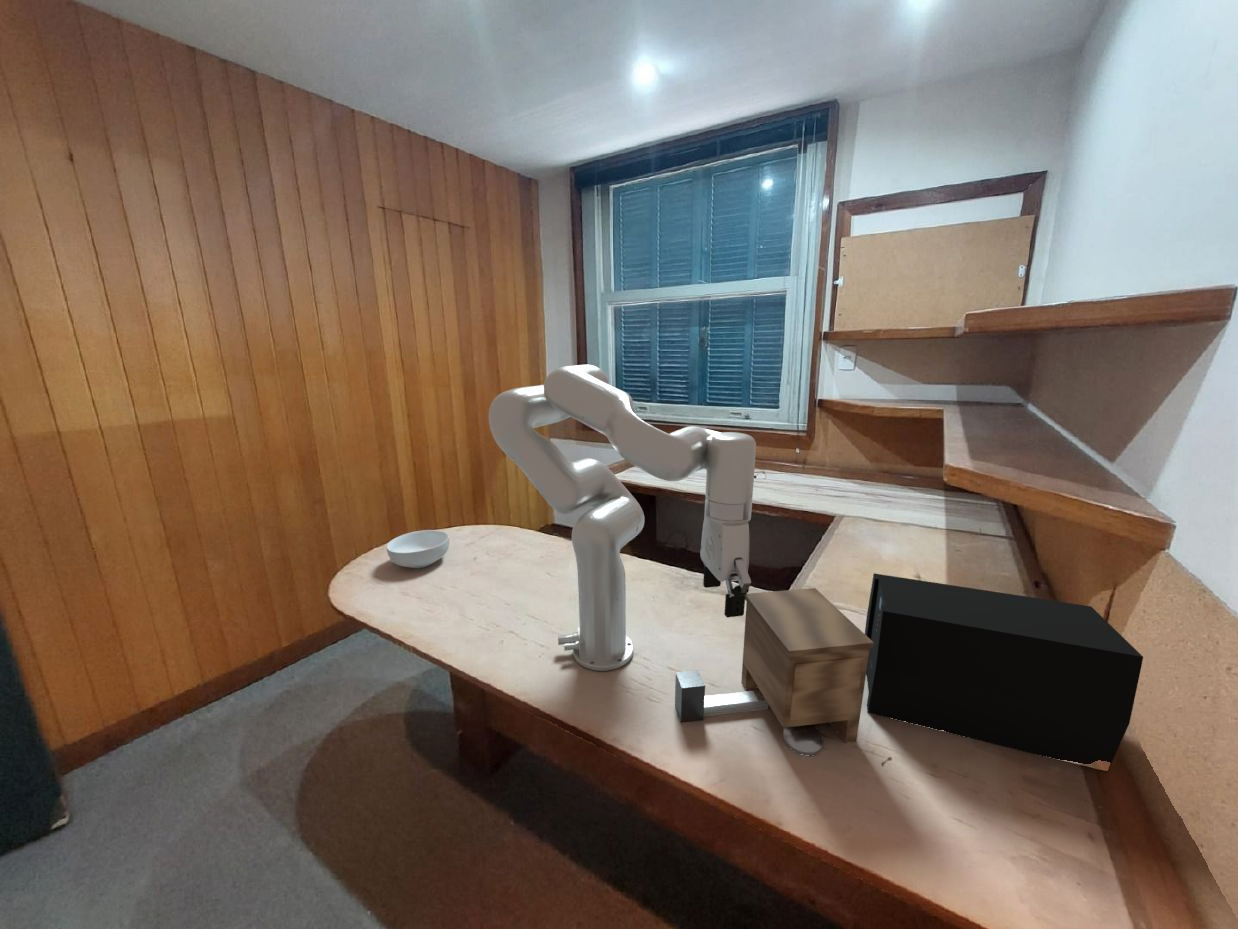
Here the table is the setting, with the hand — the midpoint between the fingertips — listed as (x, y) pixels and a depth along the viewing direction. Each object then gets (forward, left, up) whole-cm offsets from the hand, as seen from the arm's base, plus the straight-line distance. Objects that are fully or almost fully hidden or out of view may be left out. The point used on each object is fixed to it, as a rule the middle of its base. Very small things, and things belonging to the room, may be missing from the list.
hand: (722, 600), depth 83 cm
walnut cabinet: (+12, -6, -19) cm, 23 cm away
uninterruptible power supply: (+42, -11, -19) cm, 48 cm away
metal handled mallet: (-1, -4, -19) cm, 19 cm away
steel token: (+10, -13, -19) cm, 25 cm away
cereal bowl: (-69, +65, -19) cm, 96 cm away
